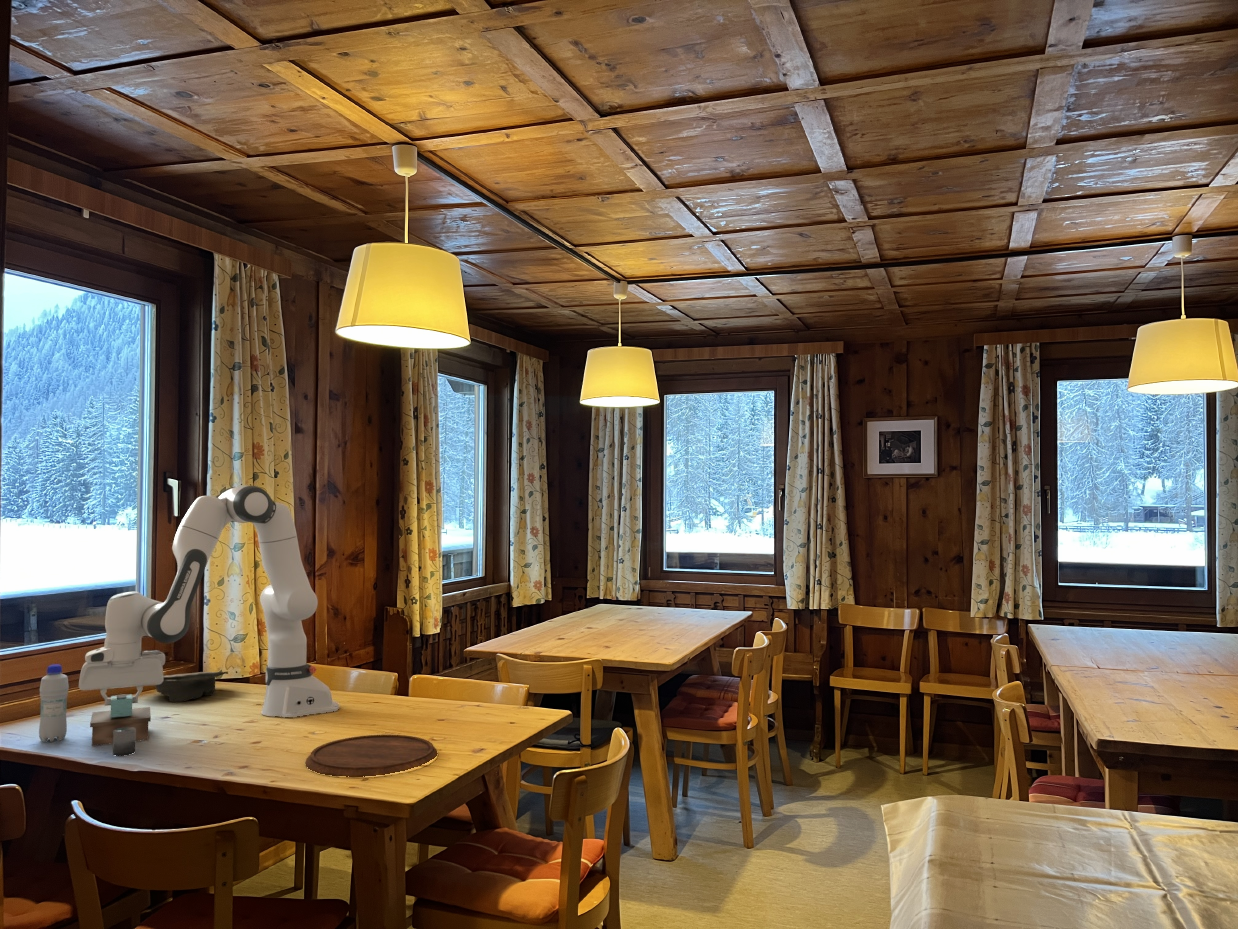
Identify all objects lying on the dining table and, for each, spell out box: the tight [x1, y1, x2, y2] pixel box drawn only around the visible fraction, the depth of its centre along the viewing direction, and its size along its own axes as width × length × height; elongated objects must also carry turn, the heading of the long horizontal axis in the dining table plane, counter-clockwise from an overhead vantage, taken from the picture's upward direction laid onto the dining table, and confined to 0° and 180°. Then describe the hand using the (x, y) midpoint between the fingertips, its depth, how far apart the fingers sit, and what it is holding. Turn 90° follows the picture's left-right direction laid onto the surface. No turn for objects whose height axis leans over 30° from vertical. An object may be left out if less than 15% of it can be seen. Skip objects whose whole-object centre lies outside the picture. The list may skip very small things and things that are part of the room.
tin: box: [112, 727, 137, 757], centre depth 230 cm, size 5×5×6 cm
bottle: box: [38, 664, 70, 743], centre depth 243 cm, size 7×7×20 cm
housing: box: [110, 693, 133, 718], centre depth 245 cm, size 5×9×5 cm, turn 29°
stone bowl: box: [155, 671, 230, 703], centre depth 297 cm, size 25×25×9 cm
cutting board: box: [304, 734, 439, 777], centre depth 227 cm, size 32×32×2 cm
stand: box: [89, 706, 152, 747], centre depth 245 cm, size 14×14×6 cm
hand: (121, 703), depth 246 cm, fingers closed on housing, 5 cm apart
